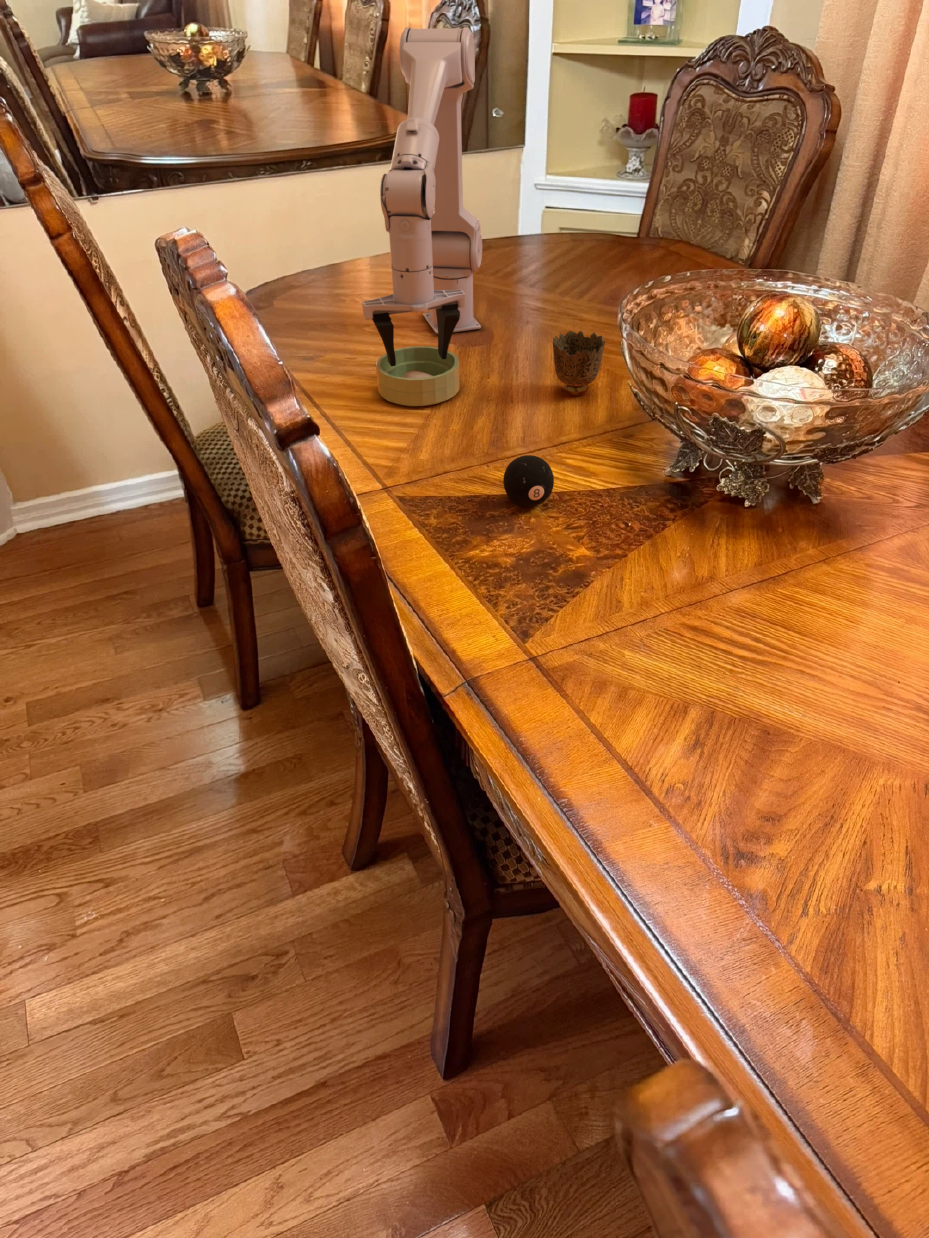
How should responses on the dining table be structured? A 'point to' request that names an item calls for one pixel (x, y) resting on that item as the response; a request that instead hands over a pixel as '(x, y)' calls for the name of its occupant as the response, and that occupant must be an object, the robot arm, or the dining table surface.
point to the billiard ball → (528, 480)
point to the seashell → (416, 374)
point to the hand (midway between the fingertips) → (417, 360)
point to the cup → (577, 360)
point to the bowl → (418, 389)
